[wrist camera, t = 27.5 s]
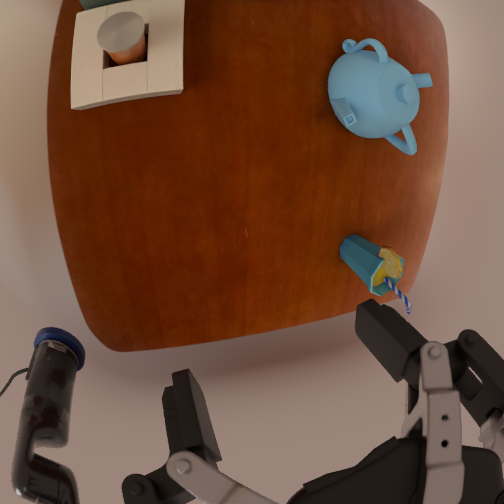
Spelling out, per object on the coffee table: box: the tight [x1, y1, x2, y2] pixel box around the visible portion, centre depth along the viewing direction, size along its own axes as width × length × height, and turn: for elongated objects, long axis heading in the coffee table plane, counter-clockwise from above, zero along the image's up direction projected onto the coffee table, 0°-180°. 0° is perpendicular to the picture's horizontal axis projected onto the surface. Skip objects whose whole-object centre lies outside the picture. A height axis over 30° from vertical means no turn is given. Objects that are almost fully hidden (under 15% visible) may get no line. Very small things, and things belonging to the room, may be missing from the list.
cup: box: [340, 234, 411, 314], centre depth 42 cm, size 14×8×15 cm, turn 37°
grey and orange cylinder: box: [97, 11, 147, 66], centre depth 20 cm, size 5×5×9 cm
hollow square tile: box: [71, 0, 185, 110], centre depth 22 cm, size 13×13×4 cm
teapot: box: [328, 39, 433, 155], centre depth 31 cm, size 15×17×11 cm
